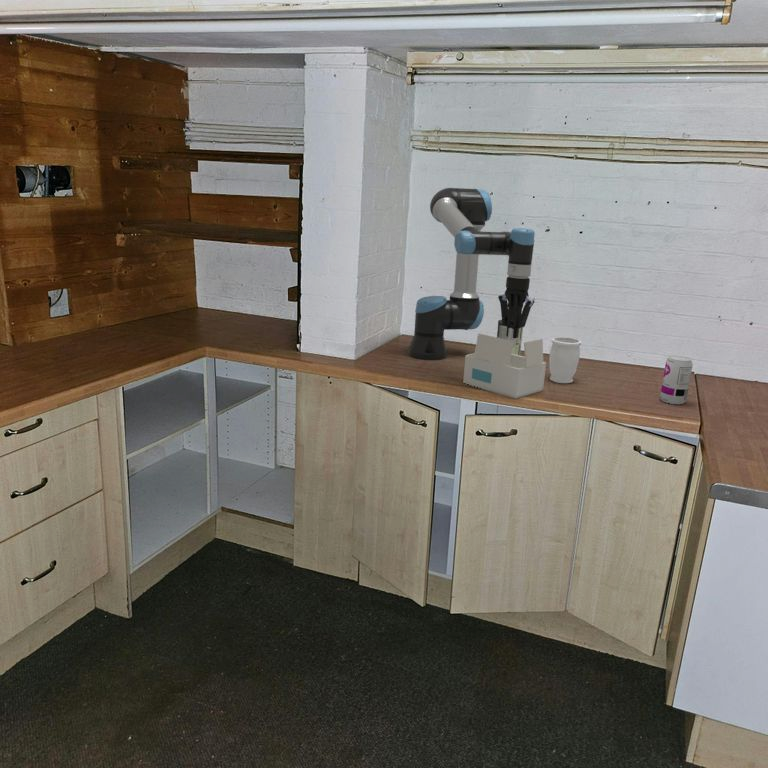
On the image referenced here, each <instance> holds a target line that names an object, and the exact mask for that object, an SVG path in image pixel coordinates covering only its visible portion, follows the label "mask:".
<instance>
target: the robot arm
mask: <svg viewBox="0 0 768 768" xmlns="http://www.w3.org/2000/svg"><path fill="white" fill-rule="evenodd" d="M429 208H430V209H429V210H430V213H431V215H432V217H433V218H434V219H435V221H436V222H439V223H441V224H442V225H443V226H444V227H445V228H446V230H447V231H448V232H449V233H450V235H452V236H453V238H454V241H453V242H454V243H453V244H454V249H455V251H456V259H455V275H454V286H453V291H452V292H451V293H450V294H449V299H447V297H446V296H443V295H429V296H423V297H421V298H419V299H418V300H417V301H416V304H415V305H416V307H415V310H414V311H415V317H414V319H415V320H414V331H413V332H414V335H413V337H412V340H411V343H410V346H409V348H408V356H410V357H413V358H415V359H419V360H428V361H429V360H433V361H435V360H437V361H438V360H444V359H446V358H447V355H448V352H447V348H446V343H445V336H444V335H445V331H446V330H448V331H450V330H454V331H457V330H464V331H468V330H475V329H477V328H479V327H480V325H481V324H482V321H483V318H484V314H485V307H484V302H482V301H481V300H480V295H479V294H478V293H477V283H478V282H477V281H478V280H477V279H478V269H479V268H478V267H479V255H483V256H485V255H489V256H492V255H493V256H508V263H507V270H506V271H507V272H506V274H507V277H506V279H505V289H506V290H505V292H504V294H501V295H498V297H497V298H498V302H499V303H500V313H501V314H500V315H501V320H502V324H503V325H506V326H507V334H506V336H507V337H508V340H510V341H514V344H513V347H515V345H516V338H518V334H519V328H522V327H523V328H525V326H526V324H527V321H528V318H529V315H530V312H531V309H532V307H533V306H534V304H535V300H534V299H531V298H530V297H529V289H530V281H531V279H530V278H529V277H531V273H532V262H533V254H534V246H535V230H534V229H531V228H520V227H516V228H515V227H513V228H512V230H511V231H481V230H482V229H483V228H484V227H485V226H486V222H488V221H490V220H491V217H492V213H493V204H492V199H491V196H490V194H489V192H487V191H486V190H484V189H479V188H462V187H461V188H460V187H459V188H458V187H457V188H456V187H446V188H443V189H440V190H439V191H437V193H435V194H434V195H433V197H432V199H431V200H430V204H429Z"/></svg>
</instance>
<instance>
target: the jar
mask: <svg viewBox="0 0 768 768" xmlns="http://www.w3.org/2000/svg"><path fill="white" fill-rule="evenodd" d="M550 341H551V343H552V344H551V347H550V351H549V355H548V356H549V357H548V358H549V372H550V376H549V380H550V381H551V382H554V383H557V384H571V383H573V382H574V379H573V377H574V376H575V373H576V371H577V369H578V365H579V362H580V355H581V351H580V346H581V345H582V341H581V340H579V339H577V338H572V337H564V336H562V337H557V336H556V337H553V338H551V340H550Z"/></svg>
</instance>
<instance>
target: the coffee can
mask: <svg viewBox="0 0 768 768" xmlns="http://www.w3.org/2000/svg"><path fill="white" fill-rule="evenodd" d="M496 333H497V334H496V337H497V338H501V339H505V340H508V337H507V336H506V334H507V326H506V325H503V324H502V319H499V320H497V331H496ZM523 333H524V327H522V328H519V334H518V338H516V345H515V347H513V349H512V354H516V355H520V356H521V351H522V350H521V349H522V343H523V342H522V339H523Z"/></svg>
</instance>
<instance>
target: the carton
mask: <svg viewBox="0 0 768 768" xmlns="http://www.w3.org/2000/svg"><path fill="white" fill-rule="evenodd" d="M474 353H475V352H473V353H469V354H466V355H465V356H464V357H465V358H464V359H465V360H464V369H463V370H464V371H463V381H462V383H466V384H465V385H467V384H469V385H468V386H470V385H472V386H471V387H474V386H475V388H477V387H478V388H477V389H480V388H481V390H485V391H488V392H491V393H493V394H496V395H497V394H498V395H501V396H505V397H507V398H510V399H515V400H517V399H520V398H521V399H522V398H525V397H527V396H531V395H533V394H537V393H539V392H543V391H544V385H545V384H544V383H545V375H546V368H547V366H546V365H547V361H543V363H540V364H536V365H532V366H529V367H525V355H524V356H523V355H521V354H520V355H516V354H511V359H510V363H509V366H508V365H504V364H500V363H496V362H492V361H488V360H484V359H481V358H477V357H474Z"/></svg>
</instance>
